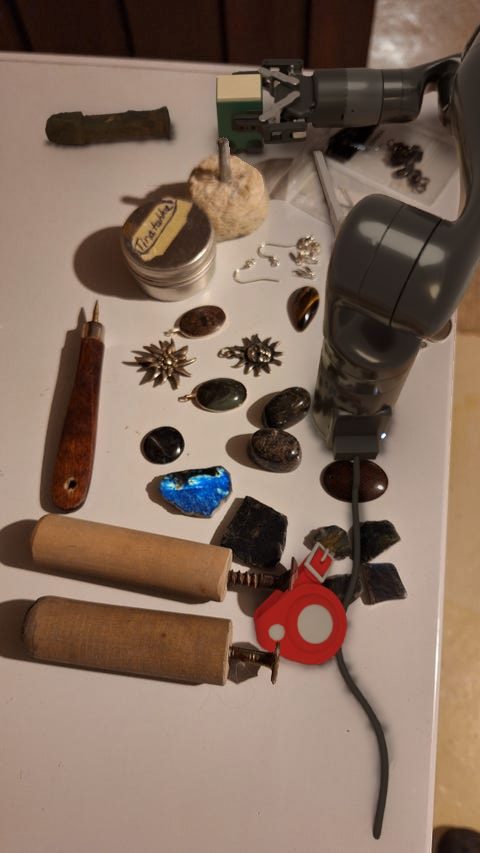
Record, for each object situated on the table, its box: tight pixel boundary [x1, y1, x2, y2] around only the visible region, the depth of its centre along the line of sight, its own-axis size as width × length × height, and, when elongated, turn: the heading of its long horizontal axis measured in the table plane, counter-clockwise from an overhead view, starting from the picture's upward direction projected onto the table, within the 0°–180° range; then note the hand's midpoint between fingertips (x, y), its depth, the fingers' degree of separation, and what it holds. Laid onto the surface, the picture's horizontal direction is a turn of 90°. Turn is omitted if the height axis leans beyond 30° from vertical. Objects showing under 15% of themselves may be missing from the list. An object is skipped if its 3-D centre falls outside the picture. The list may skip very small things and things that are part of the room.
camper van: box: [215, 74, 265, 155], centre depth 92 cm, size 5×7×10 cm
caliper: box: [312, 150, 347, 239], centre depth 88 cm, size 20×1×6 cm, turn 7°
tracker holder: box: [252, 541, 348, 666], centre depth 67 cm, size 12×4×10 cm
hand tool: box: [44, 105, 172, 146], centre depth 96 cm, size 19×4×5 cm, turn 92°
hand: (231, 101), depth 90 cm, fingers open, 8 cm apart
